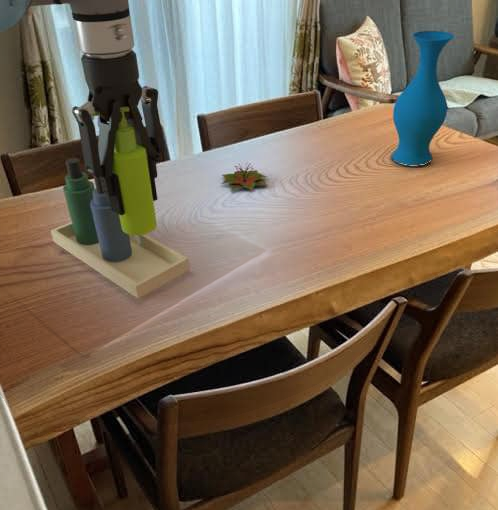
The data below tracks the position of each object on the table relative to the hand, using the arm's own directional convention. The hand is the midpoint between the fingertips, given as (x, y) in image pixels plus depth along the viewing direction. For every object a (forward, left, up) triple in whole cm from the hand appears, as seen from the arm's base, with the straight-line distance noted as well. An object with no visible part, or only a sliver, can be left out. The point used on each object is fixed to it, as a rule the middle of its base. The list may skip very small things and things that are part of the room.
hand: (134, 204), depth 89 cm
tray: (-9, 0, -14) cm, 16 cm away
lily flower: (-14, +39, -14) cm, 44 cm away
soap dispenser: (0, 0, -4) cm, 4 cm away
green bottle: (-18, 0, -13) cm, 22 cm away
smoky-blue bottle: (-9, 0, -13) cm, 16 cm away
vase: (+8, +76, -14) cm, 78 cm away
